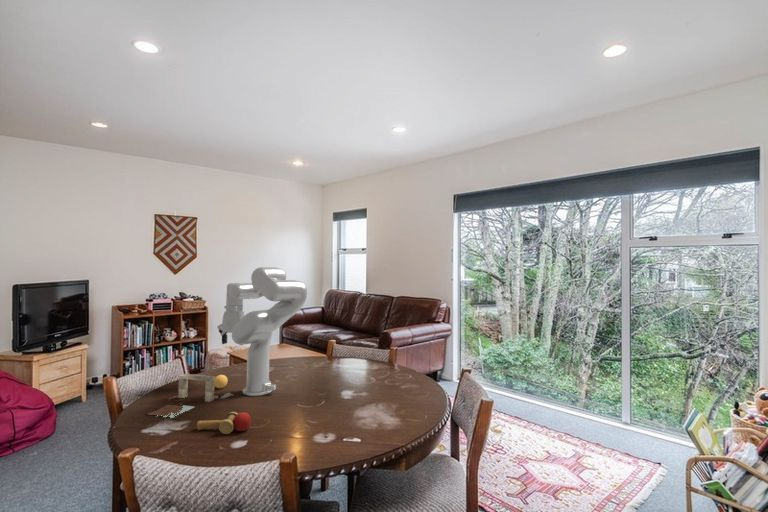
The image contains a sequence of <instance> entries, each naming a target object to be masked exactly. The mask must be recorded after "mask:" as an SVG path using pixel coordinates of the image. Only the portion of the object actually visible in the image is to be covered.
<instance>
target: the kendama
mask: <svg viewBox="0 0 768 512" xmlns="http://www.w3.org/2000/svg"><path fill="white" fill-rule="evenodd" d="M251 426H252V417H251V415H250V414H249V413H248V412H245V411H244V412H243V411H242V412H238V413H237V412H236V411H231V412H229V413H228V414H227V416H226V419H223V420H221V419H216V420H215V419H213V420H210V419H209V420H197V423H196V429H197V430H198V431H202V430H207V429H213V428H218V429H219V432H220V433H221V434H225V435H229V434H231V433H232V432H233V430H234V429H235V430H236V431H238V432H245V431H247V430H248V429H249V428H250V427H251Z"/></svg>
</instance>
